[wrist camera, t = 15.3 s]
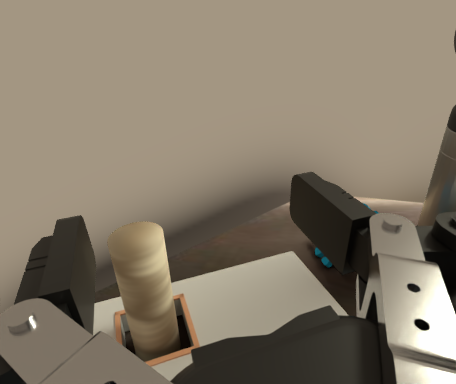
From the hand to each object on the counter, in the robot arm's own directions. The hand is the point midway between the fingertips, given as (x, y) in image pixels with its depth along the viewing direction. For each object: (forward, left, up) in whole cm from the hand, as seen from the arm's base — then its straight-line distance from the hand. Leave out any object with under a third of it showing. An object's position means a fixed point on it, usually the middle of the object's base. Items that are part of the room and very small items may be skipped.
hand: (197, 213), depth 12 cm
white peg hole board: (-4, -13, -23) cm, 27 cm away
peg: (+2, -13, -23) cm, 26 cm away
